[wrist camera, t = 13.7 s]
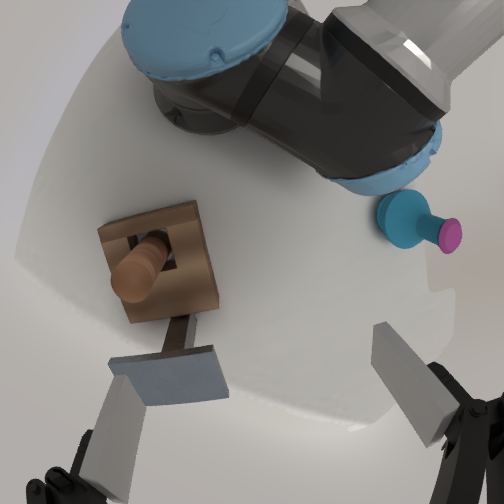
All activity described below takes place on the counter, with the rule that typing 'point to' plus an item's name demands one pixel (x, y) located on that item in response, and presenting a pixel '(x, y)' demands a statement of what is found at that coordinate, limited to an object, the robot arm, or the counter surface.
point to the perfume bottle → (416, 222)
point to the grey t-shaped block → (175, 369)
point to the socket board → (173, 272)
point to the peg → (141, 267)
